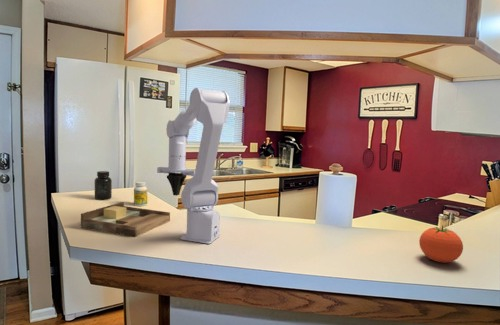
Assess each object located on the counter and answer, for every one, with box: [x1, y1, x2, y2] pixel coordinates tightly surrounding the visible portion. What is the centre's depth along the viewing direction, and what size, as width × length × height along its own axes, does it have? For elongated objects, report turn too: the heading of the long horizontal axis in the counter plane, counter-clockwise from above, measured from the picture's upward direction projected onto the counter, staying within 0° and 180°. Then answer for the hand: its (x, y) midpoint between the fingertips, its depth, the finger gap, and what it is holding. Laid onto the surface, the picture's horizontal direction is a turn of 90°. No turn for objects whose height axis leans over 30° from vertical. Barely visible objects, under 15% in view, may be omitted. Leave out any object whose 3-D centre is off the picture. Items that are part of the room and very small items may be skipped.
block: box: [104, 206, 127, 219], centre depth 109 cm, size 5×5×3 cm
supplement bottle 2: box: [133, 181, 148, 207], centre depth 134 cm, size 5×5×10 cm
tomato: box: [418, 225, 464, 263], centre depth 87 cm, size 10×10×10 cm
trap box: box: [80, 201, 171, 238], centre depth 107 cm, size 20×19×4 cm
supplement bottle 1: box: [94, 170, 113, 201], centre depth 142 cm, size 7×7×12 cm
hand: (176, 194), depth 112 cm, fingers closed
